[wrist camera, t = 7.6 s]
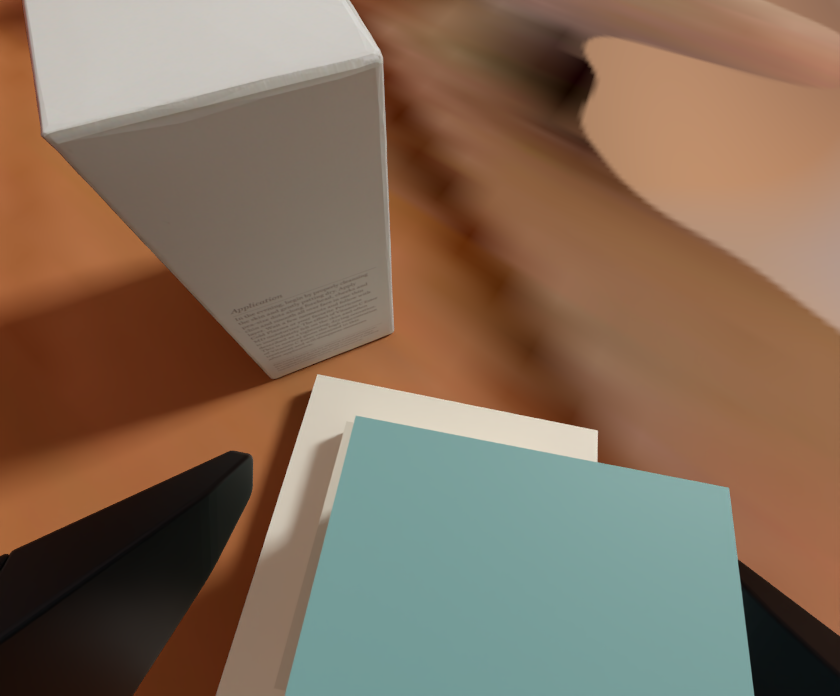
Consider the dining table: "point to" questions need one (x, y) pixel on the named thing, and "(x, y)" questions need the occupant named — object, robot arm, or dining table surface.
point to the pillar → (519, 577)
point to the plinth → (313, 500)
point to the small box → (234, 155)
